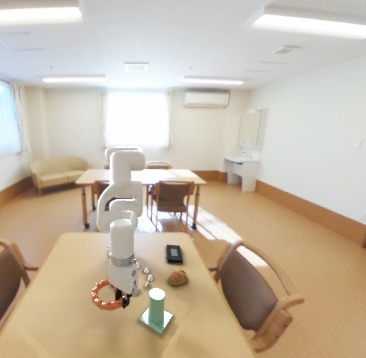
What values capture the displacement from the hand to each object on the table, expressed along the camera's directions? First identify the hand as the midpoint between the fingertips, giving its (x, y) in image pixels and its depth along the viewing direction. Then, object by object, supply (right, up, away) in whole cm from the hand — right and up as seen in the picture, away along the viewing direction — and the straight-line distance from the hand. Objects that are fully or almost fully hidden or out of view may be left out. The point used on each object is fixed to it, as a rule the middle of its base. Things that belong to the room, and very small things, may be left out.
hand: (122, 302), depth 73 cm
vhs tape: (+27, +1, +42) cm, 50 cm away
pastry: (+25, -4, +23) cm, 35 cm away
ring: (-4, +2, +3) cm, 6 cm away
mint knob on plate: (+12, -8, +4) cm, 15 cm away
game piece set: (+3, -3, +25) cm, 25 cm away
